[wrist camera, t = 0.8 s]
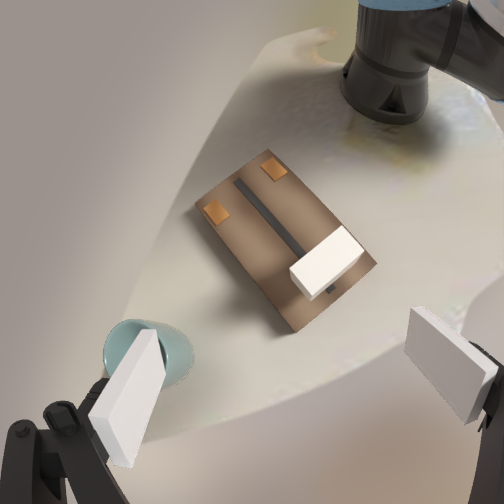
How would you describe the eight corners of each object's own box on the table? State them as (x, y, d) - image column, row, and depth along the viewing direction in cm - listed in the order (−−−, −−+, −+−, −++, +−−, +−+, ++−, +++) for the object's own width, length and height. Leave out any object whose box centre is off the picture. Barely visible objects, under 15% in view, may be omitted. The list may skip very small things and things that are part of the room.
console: (270, 160, 41) (268, 147, 38) (371, 269, 35) (377, 263, 32) (201, 212, 41) (193, 202, 38) (296, 333, 35) (295, 332, 32)
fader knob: (333, 249, 33) (341, 224, 26) (350, 269, 32) (364, 250, 25) (291, 283, 33) (289, 268, 26) (309, 304, 32) (312, 295, 25)
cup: (136, 358, 37) (91, 362, 27) (165, 312, 38) (125, 303, 28) (181, 395, 35) (143, 411, 25) (213, 348, 36) (183, 351, 26)
